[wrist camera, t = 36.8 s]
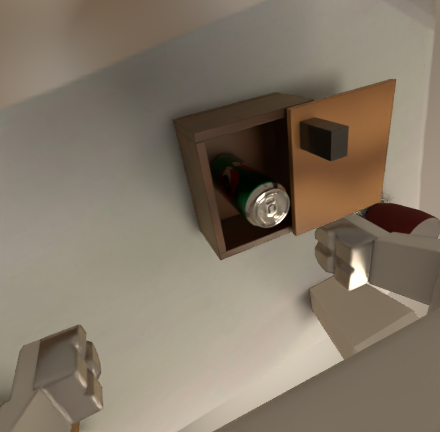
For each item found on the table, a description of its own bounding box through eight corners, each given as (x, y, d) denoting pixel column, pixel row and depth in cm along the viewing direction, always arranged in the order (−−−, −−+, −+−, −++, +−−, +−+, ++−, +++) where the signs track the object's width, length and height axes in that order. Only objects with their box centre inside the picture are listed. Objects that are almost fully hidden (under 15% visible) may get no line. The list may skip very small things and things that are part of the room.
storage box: (172, 119, 36) (193, 133, 29) (275, 92, 39) (314, 99, 33) (199, 230, 44) (220, 260, 38) (282, 199, 48) (315, 222, 41)
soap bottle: (351, 256, 61) (496, 364, 39) (352, 290, 66) (480, 401, 45) (299, 284, 58) (424, 415, 37) (304, 317, 64) (416, 447, 43)
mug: (344, 242, 58) (388, 273, 50) (346, 206, 54) (394, 233, 46) (387, 223, 60) (435, 249, 52) (392, 187, 56) (445, 210, 48)
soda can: (213, 195, 41) (255, 239, 31) (201, 162, 39) (243, 199, 29) (246, 179, 42) (296, 217, 32) (236, 146, 39) (288, 176, 30)
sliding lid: (286, 108, 32) (322, 117, 27) (390, 78, 35) (439, 82, 30) (292, 233, 40) (321, 257, 35) (376, 199, 43) (413, 217, 39)
